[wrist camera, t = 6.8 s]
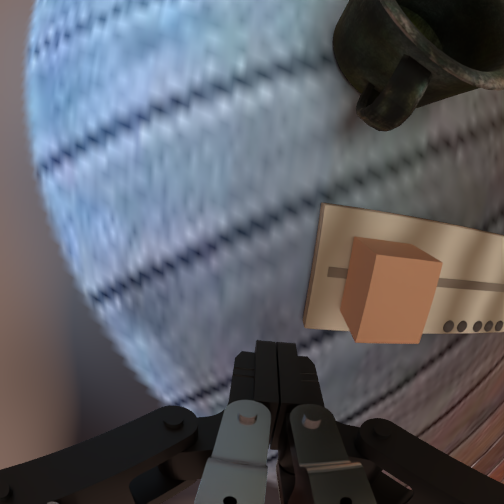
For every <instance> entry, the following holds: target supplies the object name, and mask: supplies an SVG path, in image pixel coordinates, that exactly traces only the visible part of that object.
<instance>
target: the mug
mask: <svg viewBox="0 0 504 504" xmlns="http://www.w3.org/2000/svg"><path fill="white" fill-rule="evenodd" d="M333 46H334V53H335V57H336V60H337V62H338V65H339V67H340V69H341V71H342V72H343V74H344V76H345V77H346V78H347V80H348V81H349V82H350V83H351V85H352V86H353V87H354V88H356V89H357V90H358V91H359V92H360V93H361V96H360V98H359V100H358V103H357V106H356V111H357V115H358V116H359V117H360V118H361V119H362V120H363V121H364V122H365V123H366V124H368V125H369V126H371V127H373V128H375V129H376V130H378V131H389V130H392V129H394V128H396V127H398V126H400V125H401V124H402V123H403V122H404V121H405V120H406V119H407V118H408V117H409V116H410V115H411V114H412V112H413V111H414V109H415V108H418V107H421V106H424V105H427V104H430V103H433V102H436V101H439V100H442V99H445V98H448V97H451V96H455V95H458V94H461V93H464V92H468V91H471V90H474V89H478V88H484V89H488V90H503V89H504V0H349V2H348V4H347V6H346V8H345V10H344V12H343V13H342V15H341V17H340V19H339V21H338V23H337V25H336V27H335V31H334V37H333Z"/></svg>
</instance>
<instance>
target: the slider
mask: <svg viewBox="0 0 504 504" xmlns="http://www.w3.org/2000/svg"><path fill="white" fill-rule="evenodd" d="M442 264H443V262H441V261H439V260H438V259H436V258H434V257H433V256H431V255H429V254H428V253H426V252H424V251H423V250H421V249H419V248H417V247H416V246H414V245H412V244H407V243H400V242H393V241H385V240H378V239H371V238H363V237H355V236H354V241H353V247H352V253H351V258H350V263H349V269H348V274H347V279H346V284H345V288H344V293H343V298H342V302H341V307H340V312H341V314H342V316H343V318H344V320H345V322H346V324H347V326H348V328H349V330H350V332H351V334H352V336H353V339H354V341H355V343H390V344H419V341H420V339H421V336H422V333H423V330H424V327H425V324H426V321H427V318H428V315H429V311H430V308H431V305H432V301H433V298H434V295H435V291H436V287H437V284H438V280H439V276H440V272H441V268H442Z"/></svg>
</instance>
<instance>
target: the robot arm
mask: <svg viewBox="0 0 504 504" xmlns="http://www.w3.org/2000/svg"><path fill="white" fill-rule="evenodd" d="M269 444H270V449H272V450H278V460H277V464H276V473H277V481H278V489H279V497H280V504H504V484H502V483H500V482H498V481H496V480H494V479H492V478H490V477H488V476H486V475H484V474H482V473H480V472H478V471H477V470H475V469H473V468H471V467H469V466H467V465H465V464H463V463H462V462H460V461H458V460H456V459H454V458H452V457H451V456H449V455H447V454H445V453H443V452H442V451H440V450H438V449H436V448H435V447H433V446H431V445H429V444H428V443H426V442H424V441H423V440H421V439H419V438H417V437H416V436H414V435H412V434H411V433H409V432H407V431H406V430H404V429H402V428H401V427H399V426H397V425H396V424H394V423H393V422H391V421H388V420H386V419H381V418H374V419H369V420H367V421H365V422H364V423H363V424H362V425H361V427H355V426H350V425H346V424H342V423H340V422H337V421H335V418H334V416H333V414H332V413H331V412H330V411H329V410H328V409H326V408H325V407H324V402H323V398H322V394H321V389H320V385H319V382H318V376H317V372H316V368H315V364H314V363H313V362H312V361H311V360H310V359H309V358H308V357H305V356H298V355H297V349H296V344H295V343H284V342H276V343H275V342H271V341H261V340H257V341H256V347H255V353H254V352H244V351H241V353H240V354H239V355H238V356H237V357H236V358H235V362H234V369H233V376H232V383H231V390H230V397H229V403H228V405H227V407H226V408H225V410H223V411H222V412H220V413H219V414H216V415H213V416H209V417H199V418H197V417H196V416H195V414H194V413H193V412H192V411H190V410H188V409H186V408H184V407H180V406H164V407H161V408H159V409H157V410H154V411H152V412H150V413H148V414H146V415H144V416H142V417H140V418H137V419H136V420H133V421H131V422H129V423H126V424H124V425H122V426H120V427H117V428H115V429H113V430H110V431H108V432H106V433H103V434H101V435H99V436H96V437H94V438H91V439H89V440H86V441H84V442H81V443H79V444H76V445H73V446H71V447H68V448H65V449H63V450H60V451H58V452H55V453H52V454H49V455H46V456H43V457H40V458H37V459H34V460H31V461H28V462H25V463H22V464H19V465H15V466H12V467H9V468H5V469H2V470H0V504H161V503H163V502H164V501H166V500H168V499H169V498H171V497H173V496H174V495H176V494H178V493H179V492H181V491H183V490H184V489H186V488H187V487H189V486H190V485H192V484H193V483H195V482H196V480H197V479H201V482H200V486H199V489H198V493H197V496H196V499H195V502H194V504H264V500H265V491H266V482H267V472H268V466H266V464H267V454H268V449H269ZM383 469H384V470H385V471H387V472H388V473H390V474H391V475H393V476H394V477H396V478H397V479H399V480H401V481H402V482H404V483H405V484H407V485H408V486H410V487H411V488H412V490H409V489H407V488H406V487H404V486H403V485H401V484H399V483H398V482H396V481H395V480H393V479H392V478H390V477H389V476H387V475H386V474H384V473H383V472H382V470H383Z"/></svg>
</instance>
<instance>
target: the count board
mask: <svg viewBox="0 0 504 504" xmlns="http://www.w3.org/2000/svg"><path fill="white" fill-rule="evenodd" d="M354 236H355V237H363V238H371V239H378V240H385V241H393V242H400V243H407V244H412V245H414V246H416V247H417V248H419V249H421V250H423V251H424V252H426V253H428V254H429V255H431V256H433V257H434V258H436V259H438V260H439V261H441V262H443V264H442V268H441V272H440V276H439V280H438V284H437V287H436V291H435V295H434V298H433V301H432V305H431V308H430V311H429V315H428V318H427V321H426V324H425V327H424V330H423V333H430V334H446V333H491V332H504V235H500V234H495V233H491V232H487V231H482V230H477V229H473V228H468V227H463V226H459V225H454V224H449V223H444V222H438V221H433V220H428V219H423V218H417V217H412V216H406V215H400V214H394V213H388V212H382V211H376V210H370V209H364V208H357V207H350V206H344V205H337V204H329V203H321V210H320V217H319V224H318V231H317V238H316V245H315V251H314V258H313V264H312V270H311V276H310V282H309V288H308V293H307V299H306V305H305V310H304V315H303V323H304V328H310V329H324V330H339V331H350V330H349V328H348V326H347V324H346V322H345V320H344V318H343V316H342V314H341V312H340V307H341V302H342V298H343V293H344V288H345V284H346V279H347V274H348V269H349V263H350V258H351V253H352V247H353V241H354Z"/></svg>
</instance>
